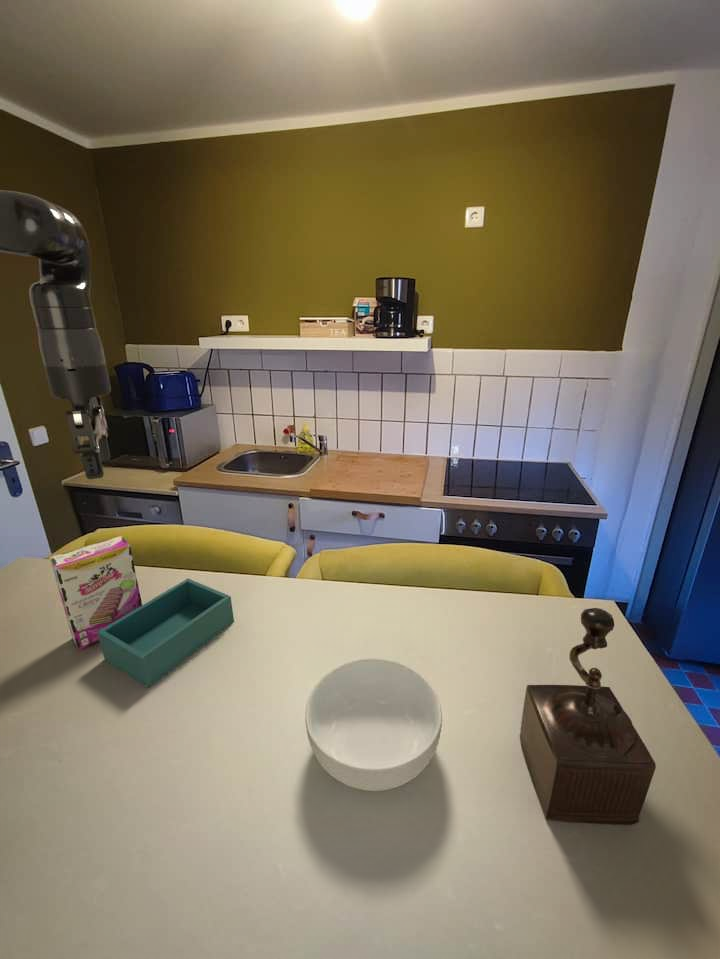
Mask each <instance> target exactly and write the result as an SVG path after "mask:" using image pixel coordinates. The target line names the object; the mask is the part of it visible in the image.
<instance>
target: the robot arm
mask: <svg viewBox="0 0 720 959" xmlns="http://www.w3.org/2000/svg"><path fill="white" fill-rule="evenodd" d="M0 253H5V254H10V255H11V254H12V255H17V256H23V257H26V258H27V257H29V258H33V259H38V263H39V281H36V282H34V283H32V284H30V287H29V288H28V289H29V290H28V295H29V300H30V301H29V302H30V306H31V308H32V313H33V318H34V321H35V325H36V328H37V329H36V330H37V335H38V346H39V350H40V355H41V358H42V362H43V367H44V370H45V374H46V379H47V382H48V387H49V391H50V394H51V396H52V397H53V398H56V399H62V400H64V399H67V400H69V401H70V406H71V410H66V412H65V417H66V419H67V422H68V428H69V432H70V436H71V441H72V446H73V452H74V453H75V455H79V456H80V457H81V462H82V465H83V469H84V470H83V471H84V474H85V477H86V479H88V480H96V479H102V478H103V477H104V475H105V472H104V468H103V463H104V462H105V463H106V462H109V461H110V460H111V454H110V449H109V443H108V440H107V439H108V435H109V434H108V432H109V426H108V424H107V420H106V415H105V409H104V407H103V402H102V401H103V398H102V397H103V396H107V395H109V394H110V393H111V392H112V387H111V381H110V377H109V371H108V367H107V362H106V356H105V352H104V347H103V343H102V339H101V337H100V334H99V331H98V328H97V320H96V316H95V312H94V308H93V303H92V298H91V286H92V257H91V256H92V254H91V246H90V241H89V238H88V236H87V232H86V230H85V228H84V225H83V224H82V223H81V221H80V220H79V219H78V218H77V217H76V215H75V214H73V213H72V212H71V211H70V210H68V209H67V208H64V207H63V206H60V205H58V204H56V203H53V202H50V201H48V200H46V199H44V198H42V197H40V196H36V195H33V194H30V193H26V192H20V191H15V190H4V189H0ZM84 441H89V443H87V444H86V443H85V444H84Z"/></svg>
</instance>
